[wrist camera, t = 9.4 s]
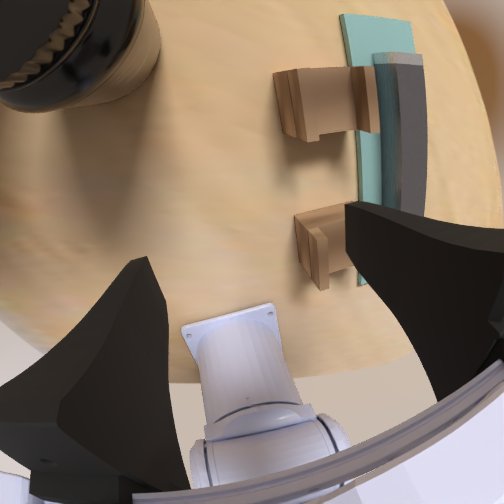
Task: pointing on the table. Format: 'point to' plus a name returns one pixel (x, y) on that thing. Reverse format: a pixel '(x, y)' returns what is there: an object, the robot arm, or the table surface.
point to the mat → (360, 54)
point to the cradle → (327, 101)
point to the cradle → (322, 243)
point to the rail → (402, 130)
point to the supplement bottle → (74, 51)
